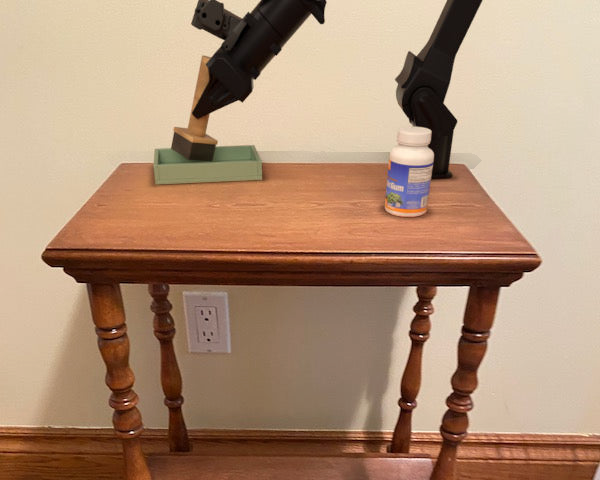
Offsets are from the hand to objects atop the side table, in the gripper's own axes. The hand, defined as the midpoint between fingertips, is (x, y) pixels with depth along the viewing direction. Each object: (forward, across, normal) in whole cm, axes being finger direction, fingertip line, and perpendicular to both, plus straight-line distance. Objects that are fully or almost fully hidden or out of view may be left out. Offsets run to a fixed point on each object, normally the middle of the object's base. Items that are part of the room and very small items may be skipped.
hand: (195, 114), depth 89 cm
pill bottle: (-14, +17, +26) cm, 34 cm away
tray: (+5, 0, +6) cm, 8 cm away
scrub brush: (+5, 0, +3) cm, 6 cm away
